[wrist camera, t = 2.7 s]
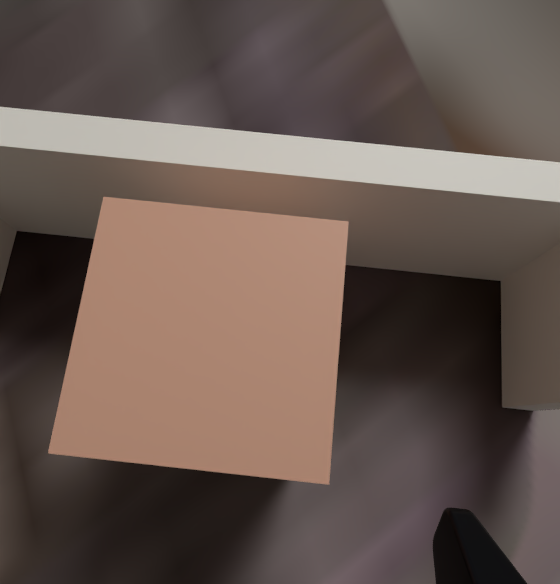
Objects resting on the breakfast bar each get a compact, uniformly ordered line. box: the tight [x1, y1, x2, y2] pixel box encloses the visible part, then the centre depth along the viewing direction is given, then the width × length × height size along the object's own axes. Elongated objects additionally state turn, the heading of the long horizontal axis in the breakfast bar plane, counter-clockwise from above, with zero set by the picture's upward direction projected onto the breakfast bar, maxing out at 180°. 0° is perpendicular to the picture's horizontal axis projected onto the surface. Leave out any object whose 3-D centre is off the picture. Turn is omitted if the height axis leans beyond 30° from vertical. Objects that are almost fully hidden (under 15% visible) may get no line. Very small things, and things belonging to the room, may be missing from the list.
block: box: [48, 197, 349, 485], centre depth 14 cm, size 5×5×10 cm
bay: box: [0, 107, 560, 411], centre depth 17 cm, size 6×22×7 cm, turn 84°
